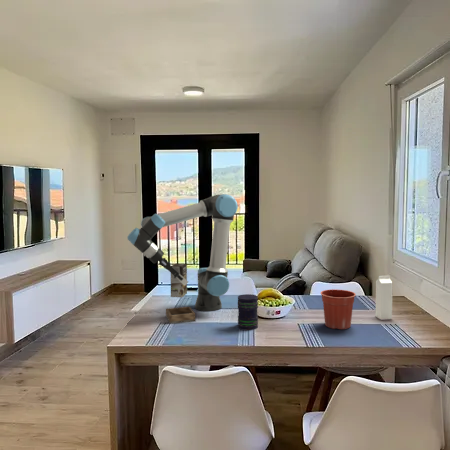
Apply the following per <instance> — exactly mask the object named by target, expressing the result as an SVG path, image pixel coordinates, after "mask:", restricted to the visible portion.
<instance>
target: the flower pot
mask: <svg viewBox="0 0 450 450" xmlns="http://www.w3.org/2000/svg"><path fill="white" fill-rule="evenodd" d="M320 295H321V301H322V305H323V316H324V325H325V327H328V329H333V330H335V329H338V330H347V329H349V328H351V325H352V318H353V317H352V316H353V309H354V302H355V297H356V296H357V295H356V293H355V292H353V291H350V290H348V289H347V290H346V289H335V288H334V289H333V288H332V289H325V290H321V291H320Z"/></svg>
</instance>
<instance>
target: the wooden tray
mask: <svg viewBox="0 0 450 450" xmlns="http://www.w3.org/2000/svg"><path fill="white" fill-rule="evenodd" d="M165 317H166V319H167V321H168V323H169V324H170V325H171V324H180V323H191V322H196V312H195V311H194V310H193V308H192V307H191V306H183V307H182V306H181V307H170V308H165Z"/></svg>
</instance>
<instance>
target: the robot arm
mask: <svg viewBox="0 0 450 450" xmlns="http://www.w3.org/2000/svg"><path fill="white" fill-rule="evenodd" d="M237 211H238V202H237V199H236V198H235V197H234V196H232V195H231V194H226V193H222V194H214V195H211V196H209V197H207V198H205V199H201V200H199V202H198V203H194V204H190V205H187V206H186V205H185V206H183V207H179V208H176V209H173V210H169V211H165V212H163V213H158V214H157V213H154V214H153V215H152V216H146V217H144V218H143V219H142V220H141V223H140V225H141V227H140V228H137V227H135V228H134V229H133V230H131V232H130V233H129V234H128V235H127V241H129V243H130V244H132V245H133V246H134V247H135V248H136V249H137V250H139V252H141V254H142V256H143V257H146V258H147V259H149V261H150V262H152V263H153V264H157V263H158V264H159V265H160V266H161V267H163V268H164V269H166V270H167V271H168V272H170V274H171V273H172V274H173V275H174V278H177V279H178V280H179V281H180V282H181V283H182V284H183V285H184V286H185V285H186V284H187V285H188V283H189V281H188V279H187V280H186V279H185V278H184V277H183V276H182V275H180V274H179V273H178V272H177V271H176V270H175V269H174V268H173V267H171V266H172V265H171V263H170V262H169V261H168V260H167V259H166V258H165V257H163V256H164V255H165V253H164V251H163V250H161V248H159V246H157V245H156V244H155V242H153V241H152V239H153V237H154V236H155V235H156V234H157V233H159V231H160V230H161V229H163V228H165V227H169V226H173V225H175V224H179V223H183V222H186V221H191V220H193V219H196V218H200V217H205V218H207V217H210V216H211V219H212V221H213V231H212V232H213V233H212V241H211V247H210V248H211V250H210V261H209V266H208V267H200V268H198V269H197V297H196V301H195V303H194V306H195V307H194V309H195V310H198V311H203V312H212V311H218V310H221V309H222V306H223V305H222V304H223V303H222V300H221V298H220V297H221V296H223V295H225V294H226V293H228V291H229V289H230V280H229V278H228V275H229V273H228V272H229V270H228V269H227V268H226V267H227V256H228V247H229V237H230V227H231V224H232V223H233V221H234V216H235V215H236V213H237ZM175 273H176V274H175Z"/></svg>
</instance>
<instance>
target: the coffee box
mask: <svg viewBox="0 0 450 450" xmlns="http://www.w3.org/2000/svg"><path fill="white" fill-rule="evenodd" d="M171 267H173V268H174V269H175V270H176V271H177V272H178V273H179V274H180V275H182V276H183V277H184V278H185V279H186V280H187V281H188V271H187V270H188V265H187V263H175V264H172V265H171ZM175 274H176V273H175ZM187 294H188V283H187V284H186V285H185V286H184V285H183V284H182V283H181V282H180V281H179V280H178V279H177V278H174V275H173V274H172V273H171V272H170V298H180V299H181V298H183V297H185V296H186V295H187Z"/></svg>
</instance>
